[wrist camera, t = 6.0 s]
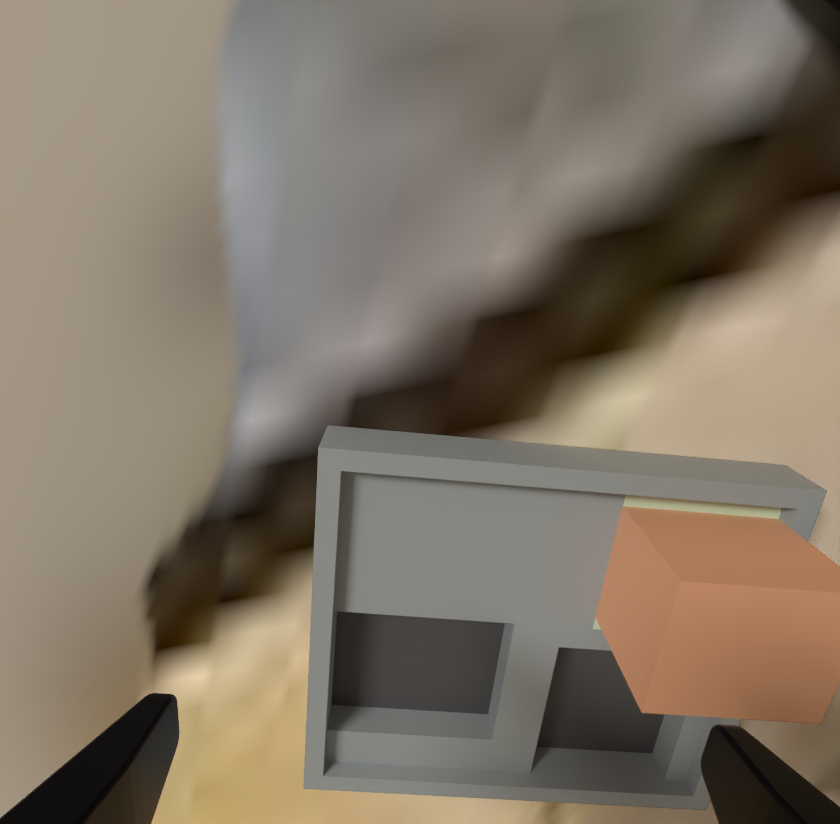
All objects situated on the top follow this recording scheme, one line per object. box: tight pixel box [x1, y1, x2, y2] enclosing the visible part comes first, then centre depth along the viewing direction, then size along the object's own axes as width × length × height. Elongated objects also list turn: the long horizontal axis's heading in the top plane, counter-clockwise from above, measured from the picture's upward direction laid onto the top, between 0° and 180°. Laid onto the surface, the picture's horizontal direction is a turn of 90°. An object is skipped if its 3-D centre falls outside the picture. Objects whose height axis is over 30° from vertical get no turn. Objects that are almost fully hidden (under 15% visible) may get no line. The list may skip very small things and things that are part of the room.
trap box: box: [304, 425, 827, 810], centre depth 22 cm, size 18×16×2 cm
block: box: [595, 506, 840, 724], centre depth 19 cm, size 6×5×4 cm
